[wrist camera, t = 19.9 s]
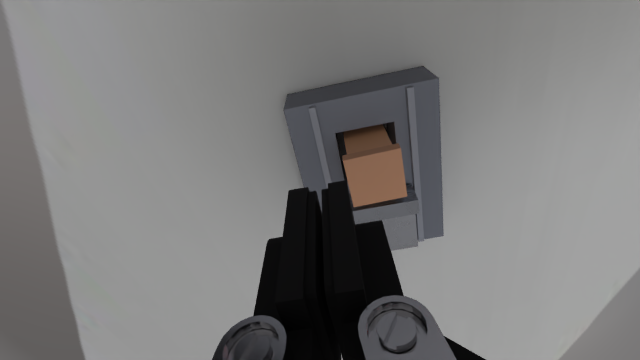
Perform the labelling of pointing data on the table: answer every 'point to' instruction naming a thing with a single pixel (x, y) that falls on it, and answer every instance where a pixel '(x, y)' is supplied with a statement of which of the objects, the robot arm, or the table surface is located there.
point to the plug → (373, 166)
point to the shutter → (393, 218)
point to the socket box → (368, 110)
